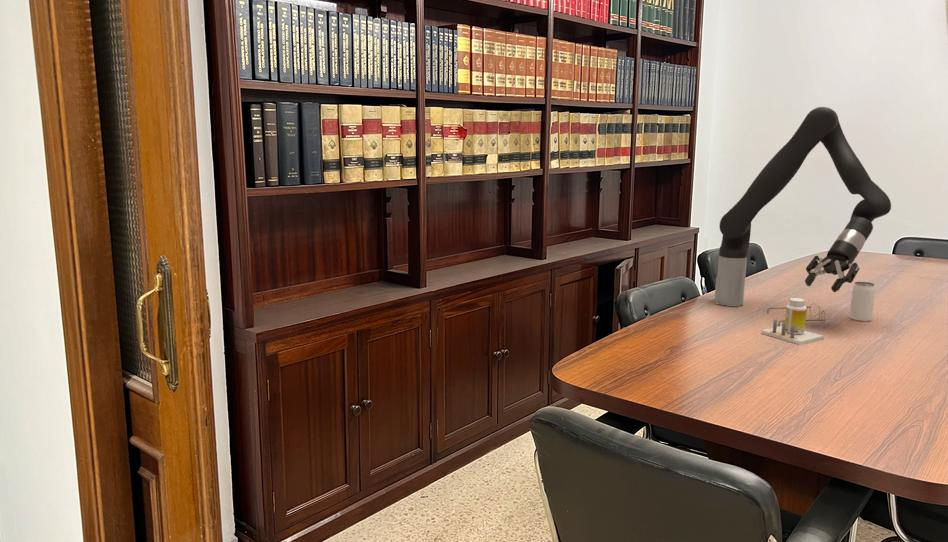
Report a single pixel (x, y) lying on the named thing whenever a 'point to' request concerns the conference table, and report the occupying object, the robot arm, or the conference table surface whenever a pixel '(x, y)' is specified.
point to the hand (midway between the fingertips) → (820, 287)
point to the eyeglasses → (806, 320)
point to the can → (862, 301)
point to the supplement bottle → (796, 315)
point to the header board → (795, 338)
